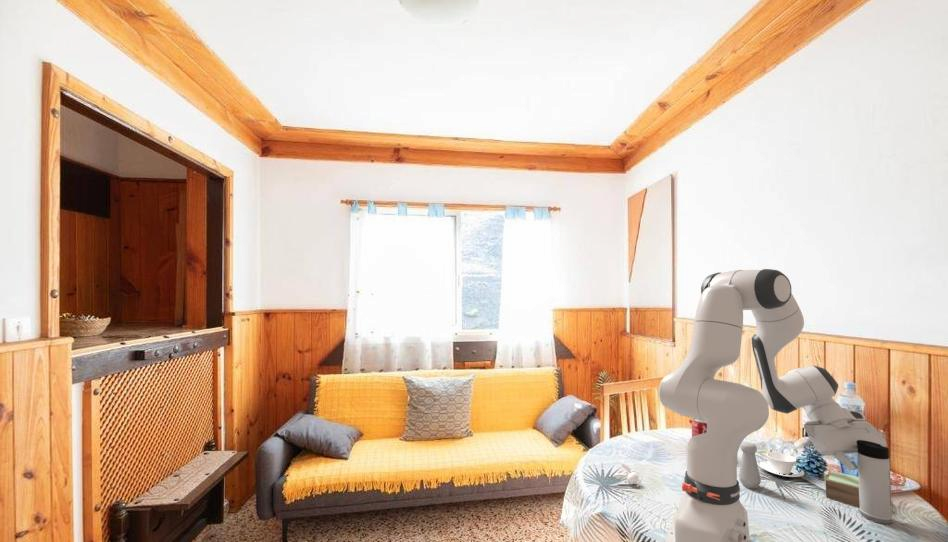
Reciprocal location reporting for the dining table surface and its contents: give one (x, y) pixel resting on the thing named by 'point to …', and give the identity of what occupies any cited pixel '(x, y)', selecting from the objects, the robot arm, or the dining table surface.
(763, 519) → the dining table surface
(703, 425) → the soda can
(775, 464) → the teacup
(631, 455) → the dining table surface
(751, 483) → the salt shaker
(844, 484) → the stand
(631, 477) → the rabbit figurine
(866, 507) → the travel mug
